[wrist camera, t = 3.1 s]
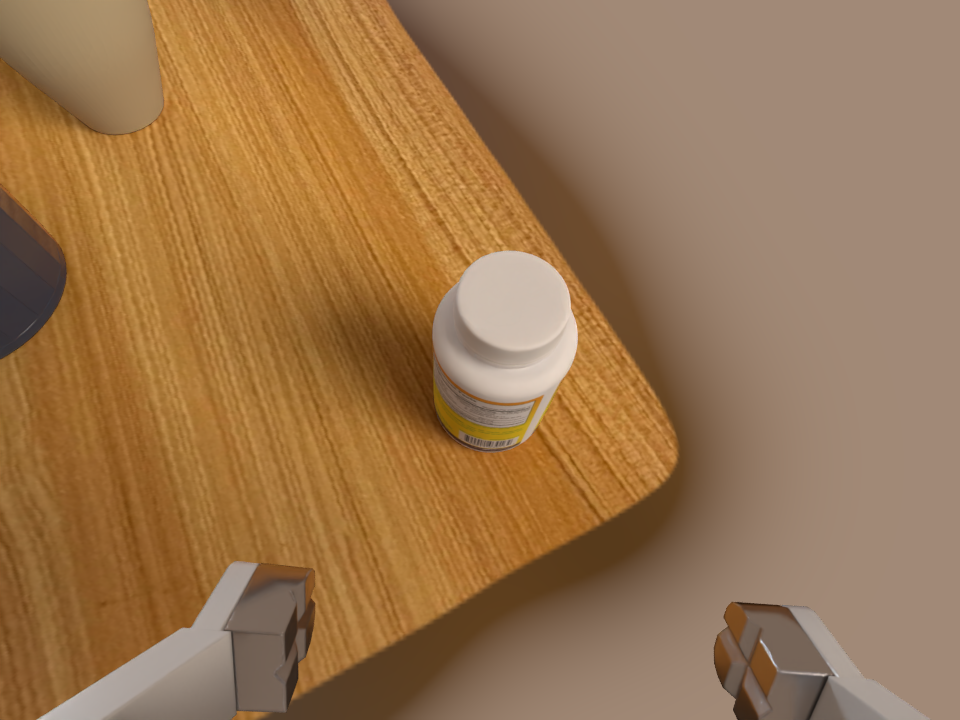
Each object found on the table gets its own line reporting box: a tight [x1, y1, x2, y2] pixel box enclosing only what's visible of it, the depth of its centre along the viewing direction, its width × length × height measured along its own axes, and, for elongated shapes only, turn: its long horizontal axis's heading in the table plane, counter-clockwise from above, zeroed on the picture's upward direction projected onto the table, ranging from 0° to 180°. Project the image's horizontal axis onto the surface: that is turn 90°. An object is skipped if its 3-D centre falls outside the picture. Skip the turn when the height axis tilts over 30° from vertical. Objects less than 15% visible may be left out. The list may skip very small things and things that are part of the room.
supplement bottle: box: [432, 251, 578, 452], centre depth 23 cm, size 6×6×10 cm
